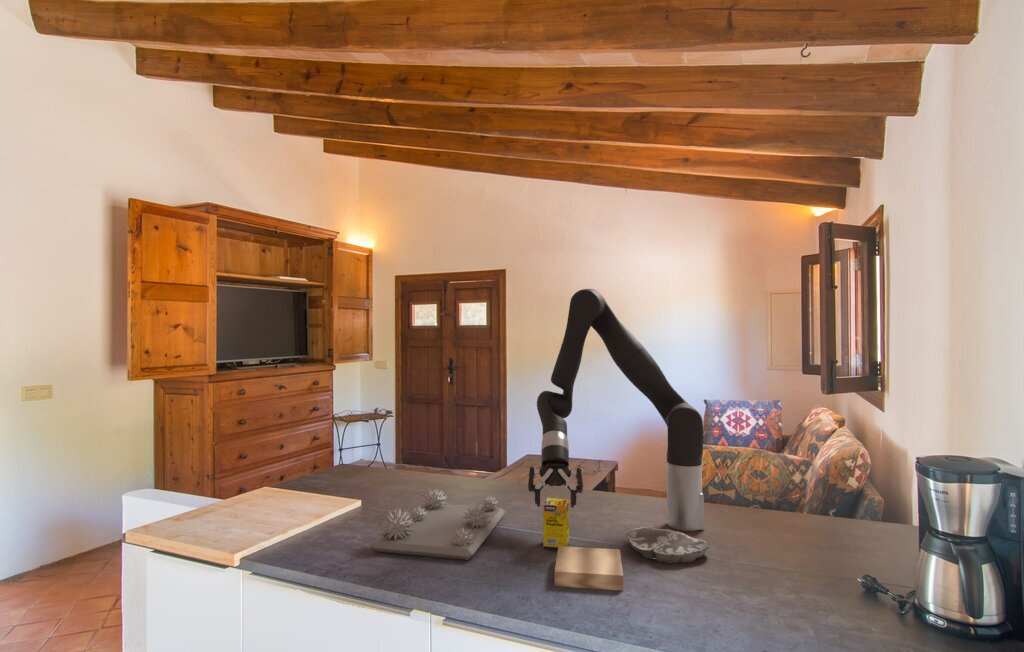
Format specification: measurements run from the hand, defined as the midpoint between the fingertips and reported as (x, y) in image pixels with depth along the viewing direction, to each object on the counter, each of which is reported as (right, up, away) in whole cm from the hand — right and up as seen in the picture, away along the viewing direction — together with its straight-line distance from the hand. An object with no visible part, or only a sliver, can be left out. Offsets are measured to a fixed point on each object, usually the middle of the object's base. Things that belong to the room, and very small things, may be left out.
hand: (555, 505), depth 137 cm
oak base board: (+6, -8, -20) cm, 22 cm away
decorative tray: (-29, -10, +6) cm, 31 cm away
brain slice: (+26, -9, -8) cm, 28 cm away
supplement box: (0, -9, -4) cm, 10 cm away
